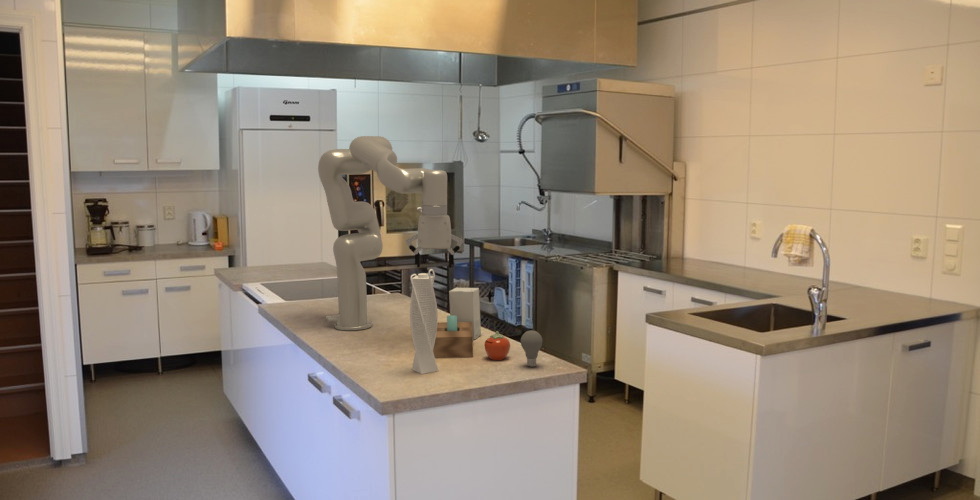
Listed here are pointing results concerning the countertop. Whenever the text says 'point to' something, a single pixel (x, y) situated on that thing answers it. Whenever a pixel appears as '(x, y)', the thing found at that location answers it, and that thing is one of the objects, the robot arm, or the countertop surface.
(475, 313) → the skincare box
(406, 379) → the countertop surface
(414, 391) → the countertop surface
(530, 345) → the light bulb
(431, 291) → the skyscraper
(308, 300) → the countertop surface
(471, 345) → the walnut socket block
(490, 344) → the tomato
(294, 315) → the countertop surface
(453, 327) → the teal peg
